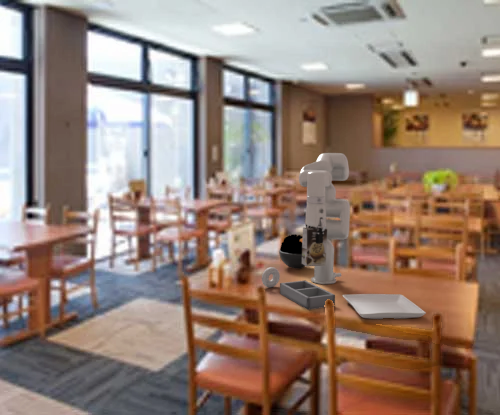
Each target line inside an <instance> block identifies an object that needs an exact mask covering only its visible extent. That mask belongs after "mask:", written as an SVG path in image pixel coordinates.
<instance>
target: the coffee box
mask: <svg viewBox="0 0 500 415" xmlns="http://www.w3.org/2000/svg"><path fill="white" fill-rule="evenodd" d="M319 230H320V229H319ZM316 234H317V232H316V228H314V227H306V226H305V227H302V236H303V238H302V241H301V242H302V264H303V265H305V266H306V267H308V268H309V267H315V266H326V249H327V229H326V228H325V231H324V234H323V243H318V244H317V243H316ZM306 267H305V268H306Z"/></svg>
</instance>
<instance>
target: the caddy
mask: <svg viewBox="0 0 500 415" xmlns="http://www.w3.org/2000/svg"><path fill="white" fill-rule="evenodd" d="M279 294H280V295H281V296H283V297H285V298H287V299H288V300H290V301H292V302H293V303H295V304H297V305H299V306H300V307H302V308H304V309H306V310H315V309H316V310H317V309H325V308H324V305H325V301H326V300H327V299H330V300H332V301H333V303H334V305H335V304H336V294H335V293H333V292H330V291H328V290H326V289H324V288H322V287H320V286H318V285H316V284H315V283H313V282H309V281H308V280H306V279H305V280H297V281H289V282H288V281H287V282H280V283H279Z"/></svg>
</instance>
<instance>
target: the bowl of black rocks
mask: <svg viewBox="0 0 500 415" xmlns="http://www.w3.org/2000/svg"><path fill="white" fill-rule="evenodd" d="M301 240H303V235H300V234H298V235H297V233H296V234H294V233H293V234H288V235H287V236H286V237H284V238H283V241H282V242H281V245H280V249H278V252H279V253H278V254H279V257H280V259H281V261H282V262H283V264H285V265H286V266H287V267H288V268H291V269H295V270H297V269H298V270H299V269H303V268H306V266H305V265H303V264H302V241H301Z"/></svg>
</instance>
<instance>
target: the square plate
mask: <svg viewBox="0 0 500 415" xmlns="http://www.w3.org/2000/svg"><path fill="white" fill-rule="evenodd" d="M342 298H343V299H345V301H346V302H348V304H349V305H350V306H351V307H352V308H353V309H354V310H355V312H356V313H358V315H359V316H360V317H362V318H363V319H370V320H374V319H375V320H376V319H377V320H382V319H383V318H394V319H411V318H420V317H423V316H424V315H426V314H427V312H426V311H424V310H423V309H422V308H421V307H420V306H418V305H416V304H415V303H414V302H413V301H411V300H410V299H408V298H407V297H406V296H405V295H403V294H394V293H393V294H392V293H391V294H388V293H385V294H384V293H361V294H360V293H358V294H357V293H355V294H342ZM383 320H384V319H383Z"/></svg>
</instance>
